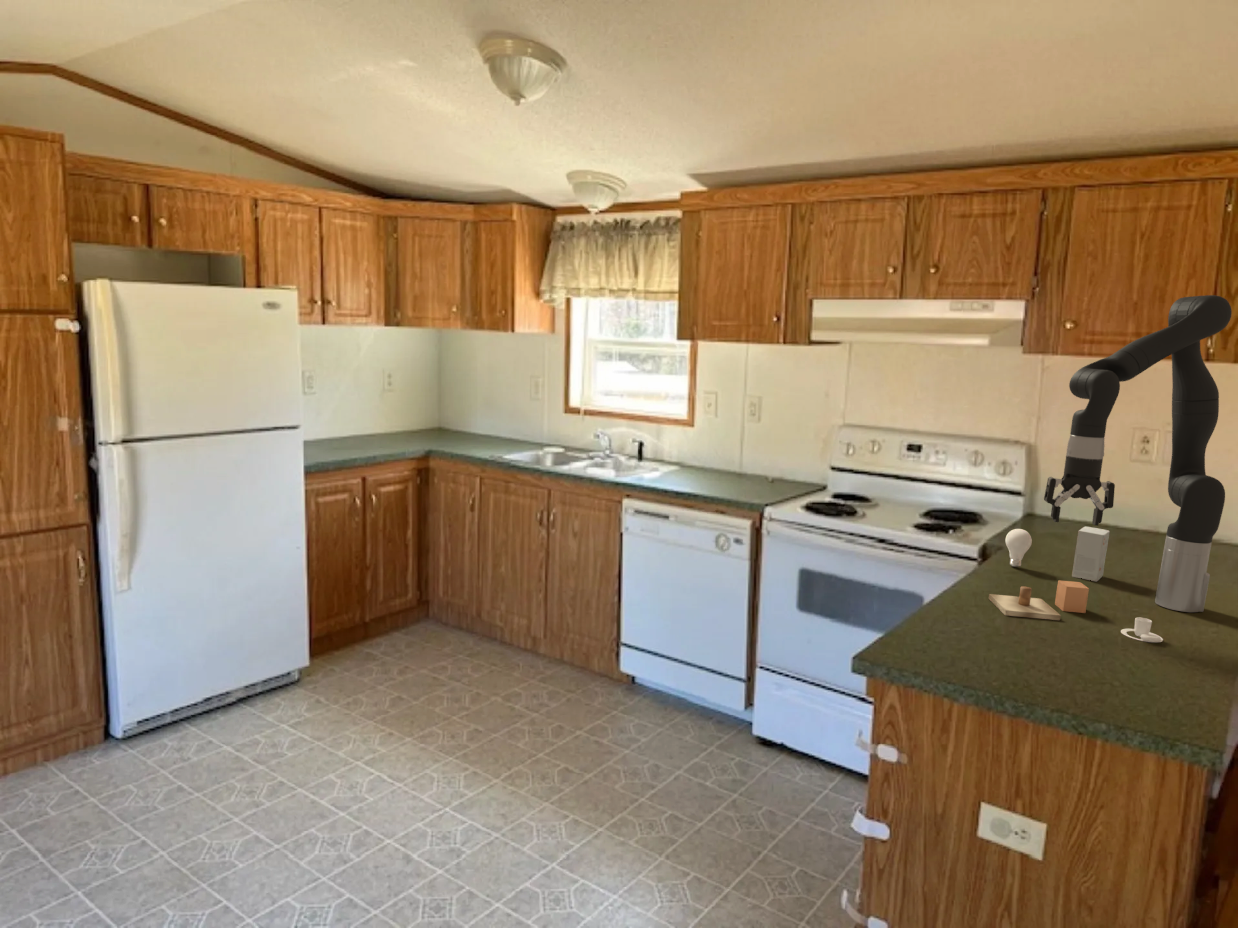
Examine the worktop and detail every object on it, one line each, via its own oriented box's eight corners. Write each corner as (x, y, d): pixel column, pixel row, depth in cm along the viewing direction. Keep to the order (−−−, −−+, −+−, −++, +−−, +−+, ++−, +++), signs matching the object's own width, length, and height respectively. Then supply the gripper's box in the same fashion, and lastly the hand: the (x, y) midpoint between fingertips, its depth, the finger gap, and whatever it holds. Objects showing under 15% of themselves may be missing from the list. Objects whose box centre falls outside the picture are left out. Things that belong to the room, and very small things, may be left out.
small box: (1077, 571, 234) (1084, 525, 232) (1103, 576, 230) (1110, 530, 228) (1070, 576, 228) (1078, 530, 225) (1097, 582, 224) (1104, 534, 221)
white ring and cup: (1163, 648, 177) (1166, 630, 176) (1119, 639, 181) (1122, 621, 180) (1162, 636, 184) (1165, 619, 184) (1120, 628, 189) (1123, 610, 188)
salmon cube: (1076, 606, 201) (1080, 582, 200) (1085, 612, 196) (1089, 588, 195) (1054, 604, 202) (1058, 580, 201) (1062, 610, 197) (1066, 586, 196)
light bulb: (1030, 571, 230) (1036, 533, 228) (1005, 569, 231) (1010, 530, 229) (1024, 565, 236) (1029, 527, 234) (999, 562, 237) (1004, 525, 236)
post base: (1040, 603, 202) (1043, 582, 201) (1060, 620, 190) (1063, 598, 189) (988, 598, 203) (991, 578, 202) (1005, 615, 191) (1008, 593, 190)
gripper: (1112, 455, 196) (1102, 522, 199) (1047, 450, 199) (1038, 517, 202) (1124, 460, 189) (1114, 529, 192) (1055, 455, 192) (1046, 523, 195)
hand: (1075, 523), depth 197 cm, fingers open, 8 cm apart
